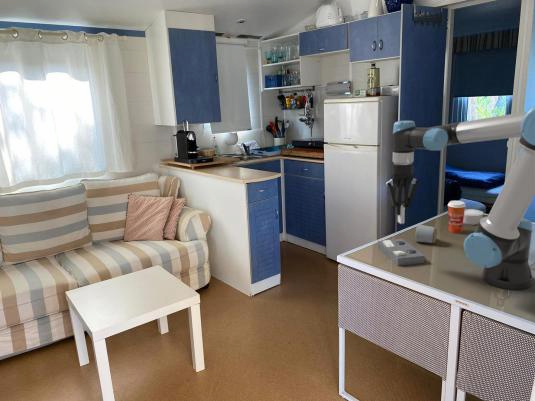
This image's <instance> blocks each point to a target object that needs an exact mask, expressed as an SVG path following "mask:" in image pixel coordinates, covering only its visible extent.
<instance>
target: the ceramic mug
mask: <svg viewBox="0 0 535 401" xmlns="http://www.w3.org/2000/svg"><path fill="white" fill-rule="evenodd" d="M414 234H415V235H414V240H415V242H417V243H427V244H435V243H436V240H437V236H438V230H437V228H436V227H434V226H429V225H423V224H417V226H416V229H415V233H414Z"/></svg>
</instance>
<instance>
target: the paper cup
mask: <svg viewBox="0 0 535 401" xmlns="http://www.w3.org/2000/svg"><path fill="white" fill-rule="evenodd" d="M466 206H467V205H466V203H465V202H464V201H461V200H450V201H449V202H448V204H447V207H448V208H447V210H448V211H447V214H448V220H447V221H448V232H449V233H452V234H460V233H463V232H462V231H463V225H464V223H463V219H464V211H465V209H466Z"/></svg>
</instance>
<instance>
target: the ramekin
mask: <svg viewBox="0 0 535 401" xmlns="http://www.w3.org/2000/svg"><path fill="white" fill-rule="evenodd" d="M484 214H485V213H484V211H481V210H478V209H473V208H472V209H471V208H470V209H468V208H467V209H466V208H465V211H464V219H463V225H468V226H470V225H473V226H475V225H477V226H478V224H479V222H480V220H481V218H483V217H484Z"/></svg>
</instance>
